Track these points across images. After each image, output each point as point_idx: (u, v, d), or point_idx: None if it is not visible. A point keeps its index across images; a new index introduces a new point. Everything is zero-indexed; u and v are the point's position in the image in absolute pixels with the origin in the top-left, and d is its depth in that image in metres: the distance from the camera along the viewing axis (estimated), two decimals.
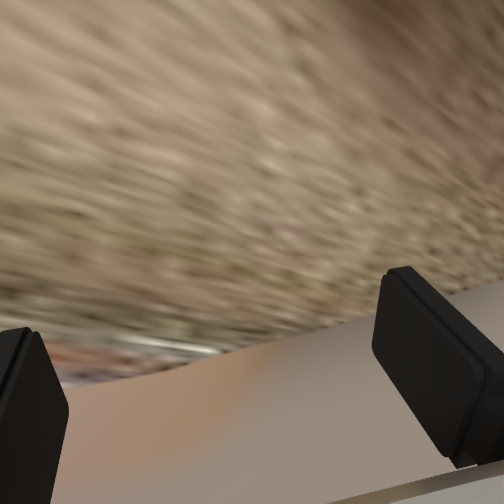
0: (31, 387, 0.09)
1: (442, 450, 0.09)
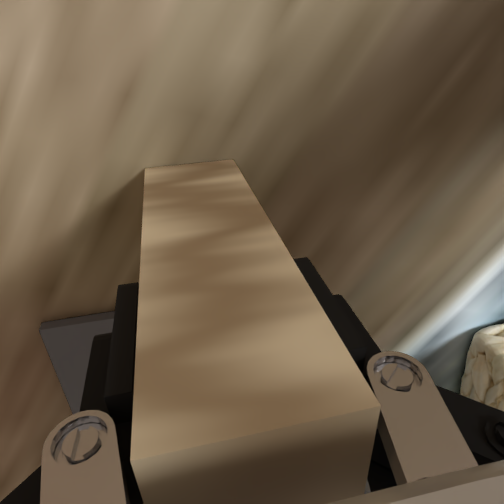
0: None
1: None
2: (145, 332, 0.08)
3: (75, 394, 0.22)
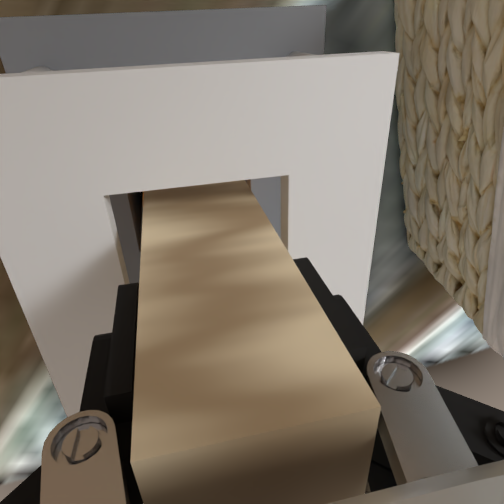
0: None
1: None
2: (145, 333, 0.08)
3: None
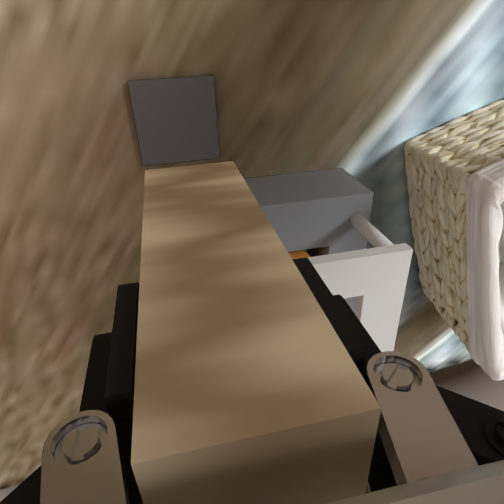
0: None
1: None
2: (145, 334, 0.08)
3: (145, 141, 0.35)
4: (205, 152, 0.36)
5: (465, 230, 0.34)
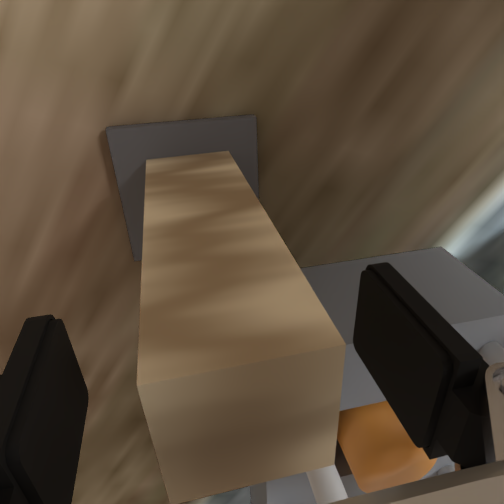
0: (57, 371, 0.09)
1: (416, 441, 0.10)
2: (148, 293, 0.10)
3: (137, 225, 0.20)
4: None
5: None
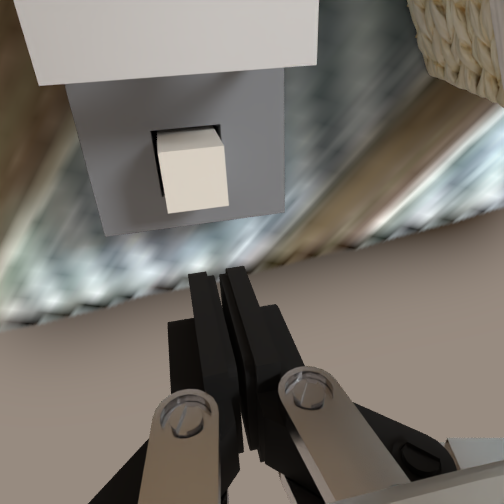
0: None
1: None
2: None
3: None
4: None
5: None
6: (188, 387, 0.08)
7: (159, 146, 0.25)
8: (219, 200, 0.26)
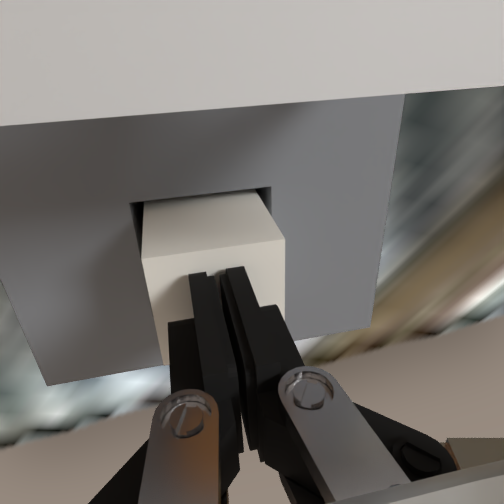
0: None
1: None
2: None
3: None
4: None
5: None
6: (188, 387, 0.08)
7: (146, 235, 0.12)
8: None
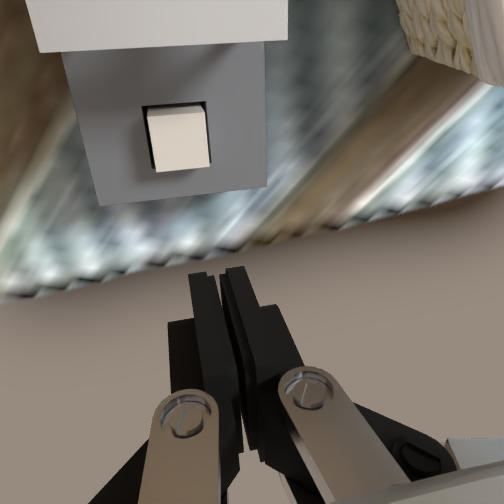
0: None
1: None
2: None
3: None
4: None
5: None
6: (188, 387, 0.08)
7: (149, 113, 0.29)
8: (201, 161, 0.30)
